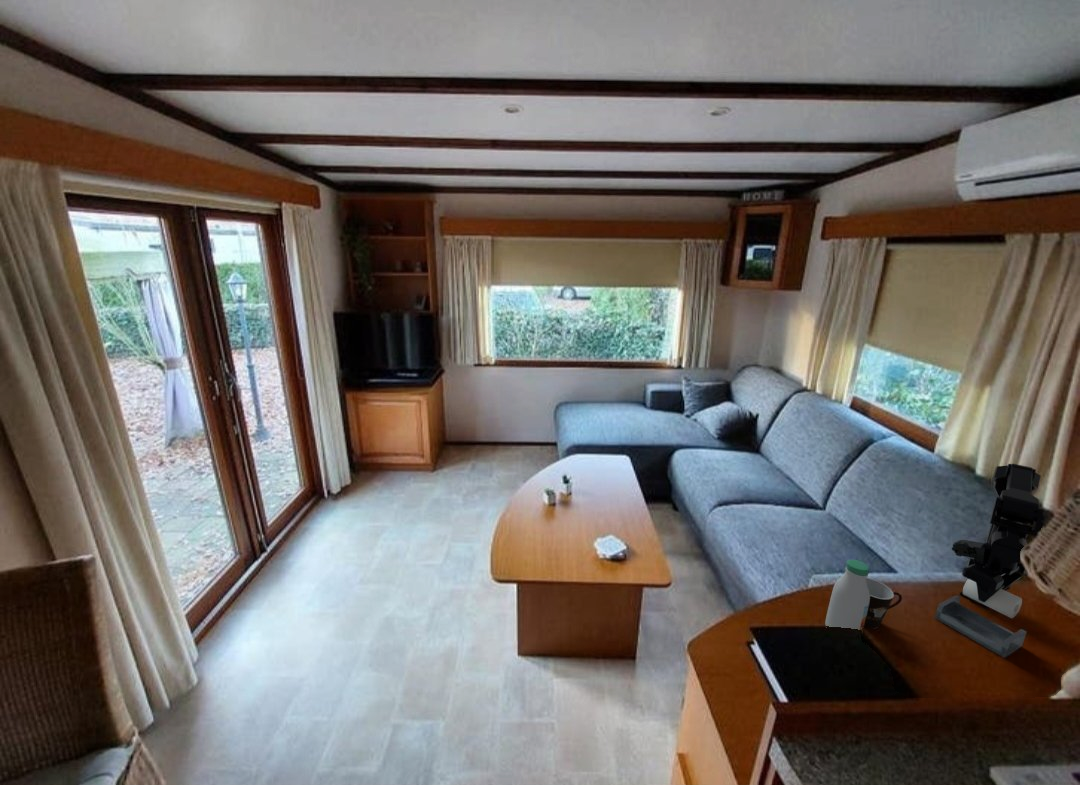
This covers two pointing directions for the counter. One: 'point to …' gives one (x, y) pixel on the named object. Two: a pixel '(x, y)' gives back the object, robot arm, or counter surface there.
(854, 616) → the milk bottle
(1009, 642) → the cradle holder
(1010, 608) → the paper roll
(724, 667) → the counter surface
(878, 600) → the coffee mug
